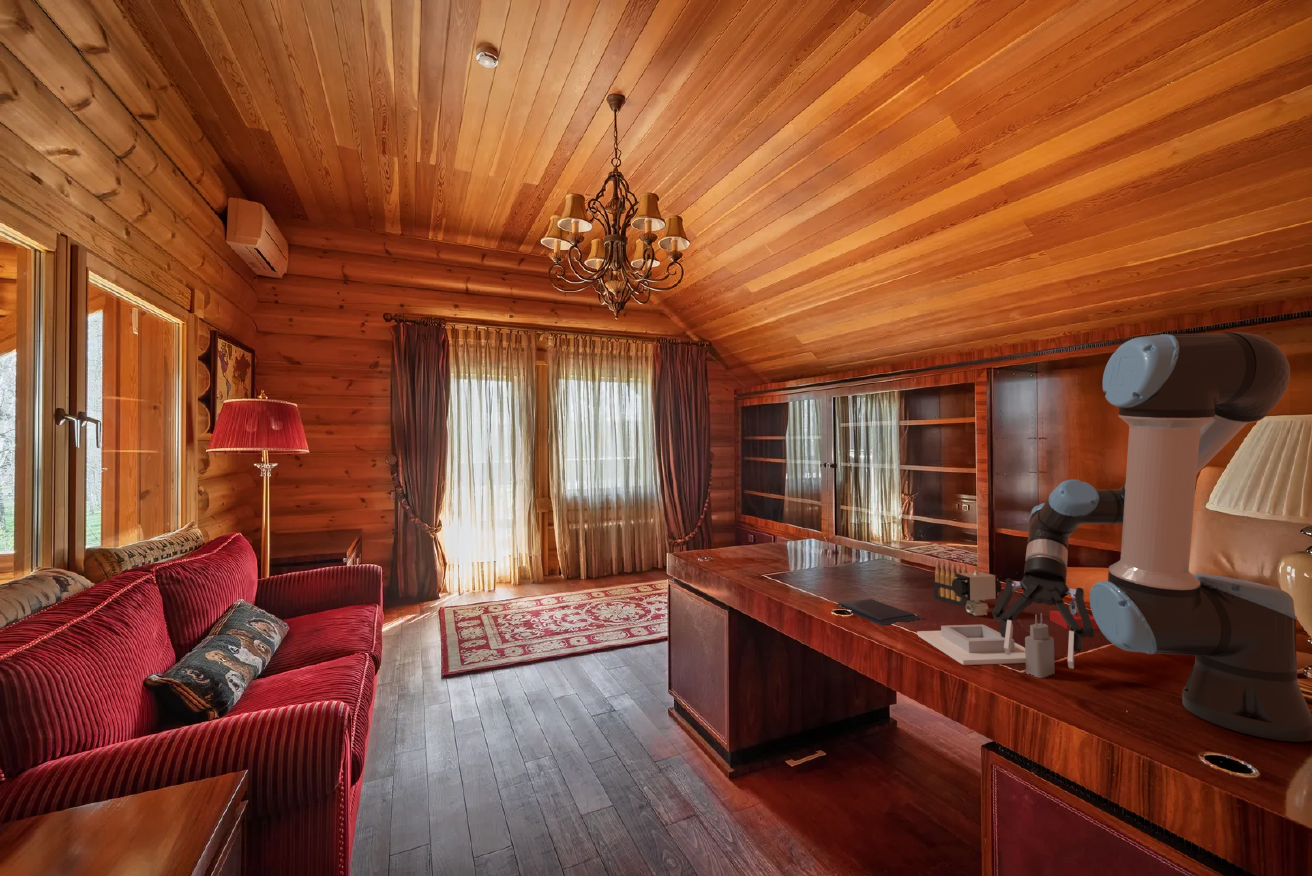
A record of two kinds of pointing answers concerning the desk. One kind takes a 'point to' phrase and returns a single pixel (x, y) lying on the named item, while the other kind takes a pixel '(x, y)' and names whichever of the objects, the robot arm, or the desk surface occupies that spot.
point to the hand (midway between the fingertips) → (1037, 658)
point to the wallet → (879, 612)
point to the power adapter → (1039, 651)
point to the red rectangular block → (1059, 620)
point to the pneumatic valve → (976, 590)
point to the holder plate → (973, 645)
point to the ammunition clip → (947, 583)
